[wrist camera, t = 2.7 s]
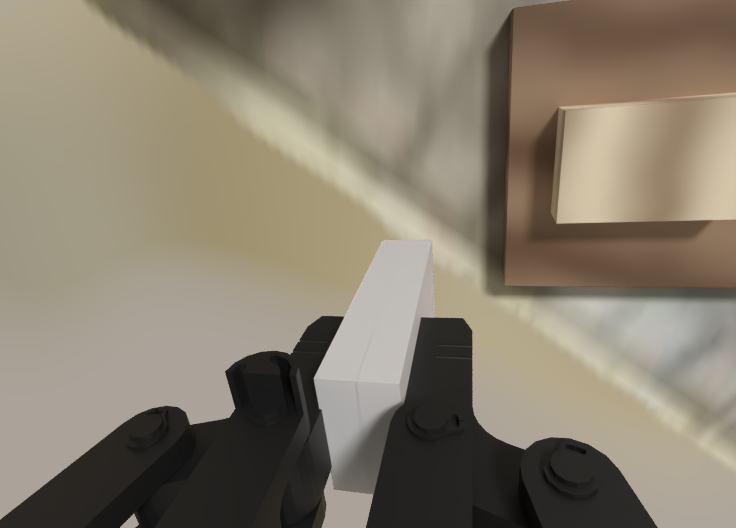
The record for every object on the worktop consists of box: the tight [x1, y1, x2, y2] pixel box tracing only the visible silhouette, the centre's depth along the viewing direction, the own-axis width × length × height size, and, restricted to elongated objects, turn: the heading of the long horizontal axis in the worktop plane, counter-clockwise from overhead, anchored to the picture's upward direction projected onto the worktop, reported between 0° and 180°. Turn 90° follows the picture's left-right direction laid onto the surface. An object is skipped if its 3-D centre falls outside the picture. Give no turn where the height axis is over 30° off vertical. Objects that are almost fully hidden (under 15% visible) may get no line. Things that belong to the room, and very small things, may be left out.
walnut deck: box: [503, 0, 736, 288], centre depth 24 cm, size 16×20×2 cm
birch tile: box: [551, 93, 736, 224], centre depth 23 cm, size 9×6×2 cm, turn 96°
